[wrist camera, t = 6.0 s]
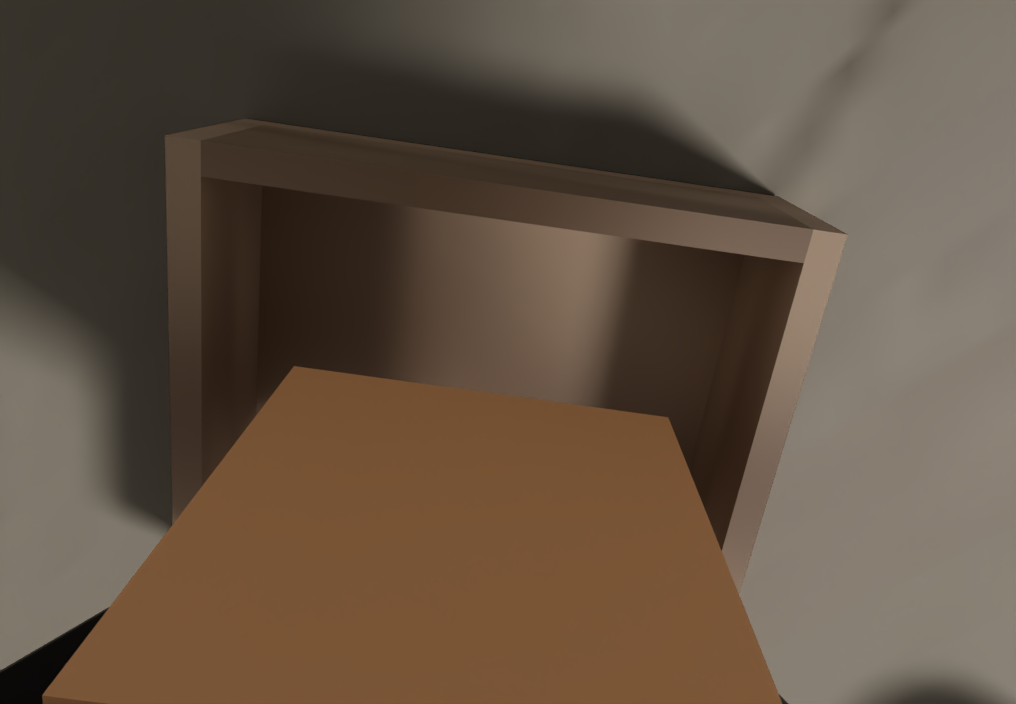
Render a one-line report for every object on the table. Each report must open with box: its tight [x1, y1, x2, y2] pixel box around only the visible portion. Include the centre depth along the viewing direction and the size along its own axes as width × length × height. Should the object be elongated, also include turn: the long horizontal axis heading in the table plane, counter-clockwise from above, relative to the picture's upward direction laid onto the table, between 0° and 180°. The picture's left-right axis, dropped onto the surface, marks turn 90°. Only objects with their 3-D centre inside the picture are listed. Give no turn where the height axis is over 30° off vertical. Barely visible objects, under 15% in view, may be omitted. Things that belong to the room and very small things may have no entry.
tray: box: [165, 119, 848, 594], centre depth 11 cm, size 8×8×3 cm
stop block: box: [42, 366, 782, 704], centre depth 7 cm, size 4×4×4 cm
